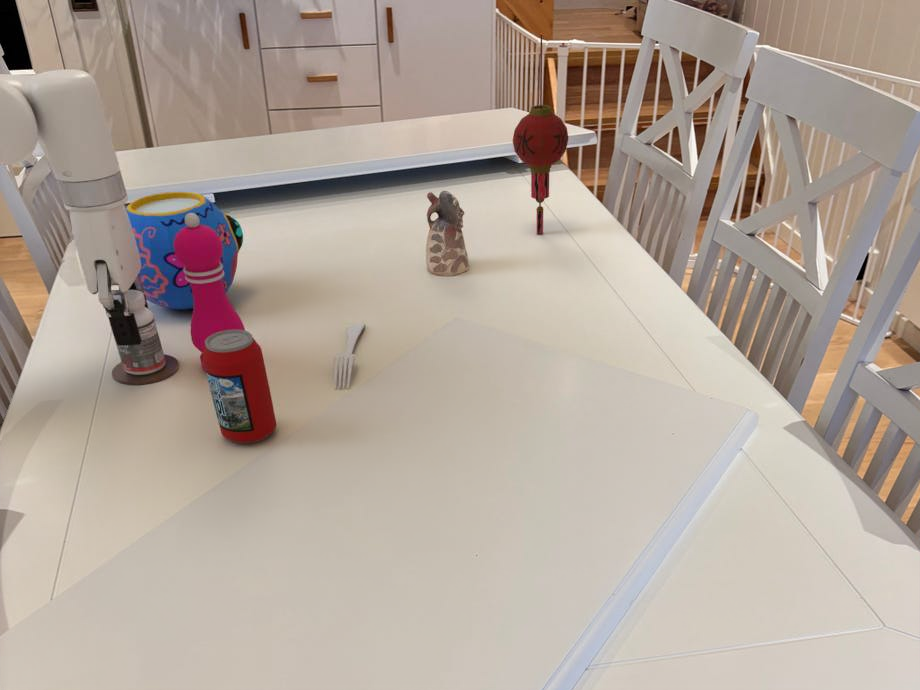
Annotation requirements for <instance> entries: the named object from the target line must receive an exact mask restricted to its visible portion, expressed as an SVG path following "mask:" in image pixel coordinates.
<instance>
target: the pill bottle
mask: <svg viewBox="0 0 920 690" xmlns="http://www.w3.org/2000/svg"><path fill="white" fill-rule="evenodd" d="M127 296H128V302H129V307H130V313H134V316H135V319H136V323H137V326H138V330H139V333H140V337H141V340H142V341H141V343H140V344H139V345H124V346H119V345H117V344H116V341H115V337H114V334H113V331H112V328H111V325H110V324H109V325H110V329H111V332H112V336H113V339H114V342H115V345H116V349H117V351H118V355H119V359H120V363H121V362H122V365H123V368H124V370H125V371H126V372H127V373H129V374H133V375H146V374H151V373H154V372H157V371H159V370H160V369H162V368H163V367H164V365H165V357H164V354H165V353H164V349H163V346H162V342H161V339H160V334H159V331H158V328H157V324H156V320H155V316H154V314H153V311H152V310H151V309H150V308H149V307H148V308H149V309H148V308H146V307H145V298H144V295H143V293H142V292H141V291H138V290H127ZM113 297H114V299H115V300H117V299H118V300H119V302H120V303H121V304H122V302H121V296H120V295H113ZM108 321H109V320H108ZM109 323H110V321H109Z"/></svg>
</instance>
